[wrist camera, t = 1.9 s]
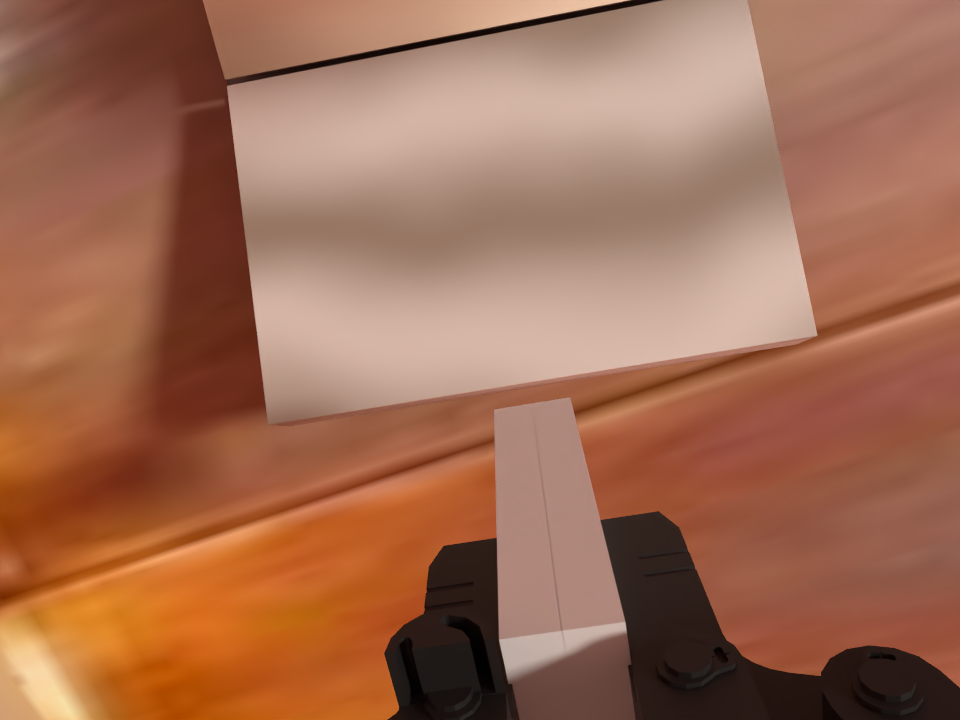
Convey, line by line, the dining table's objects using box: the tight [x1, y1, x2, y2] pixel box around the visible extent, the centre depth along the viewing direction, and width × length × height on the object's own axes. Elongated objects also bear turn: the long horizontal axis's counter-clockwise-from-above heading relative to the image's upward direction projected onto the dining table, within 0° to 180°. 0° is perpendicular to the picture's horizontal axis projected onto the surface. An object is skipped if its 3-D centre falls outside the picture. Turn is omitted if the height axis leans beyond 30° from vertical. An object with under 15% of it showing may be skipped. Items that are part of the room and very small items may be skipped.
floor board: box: [203, 0, 663, 85], centre depth 24 cm, size 21×16×2 cm
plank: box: [227, 0, 817, 426], centre depth 23 cm, size 10×15×2 cm, turn 99°
